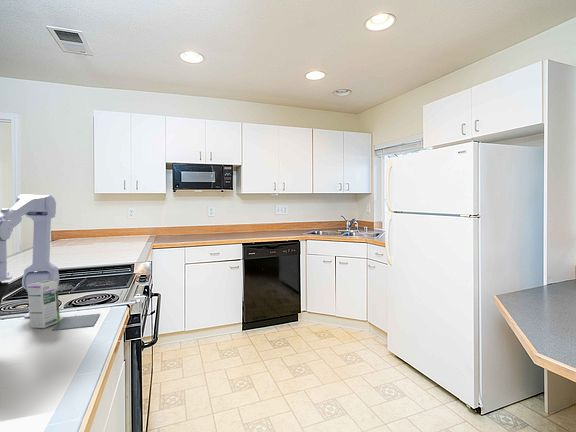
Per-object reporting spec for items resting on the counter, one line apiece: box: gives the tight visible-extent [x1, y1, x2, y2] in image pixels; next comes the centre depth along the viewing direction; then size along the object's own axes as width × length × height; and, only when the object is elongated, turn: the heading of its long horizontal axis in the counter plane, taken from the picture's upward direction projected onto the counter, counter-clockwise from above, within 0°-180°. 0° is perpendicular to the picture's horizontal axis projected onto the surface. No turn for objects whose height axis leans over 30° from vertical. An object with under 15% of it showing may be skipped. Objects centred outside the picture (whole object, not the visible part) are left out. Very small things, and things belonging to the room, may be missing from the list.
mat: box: [51, 313, 101, 332], centre depth 108 cm, size 12×12×1 cm
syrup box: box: [27, 280, 61, 329], centre depth 105 cm, size 6×6×14 cm
